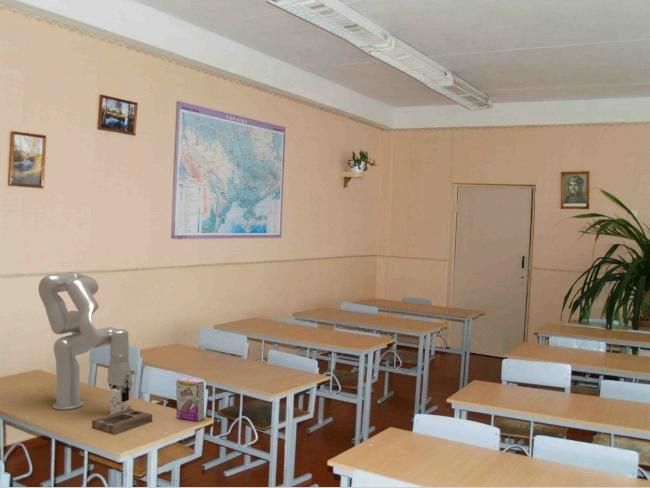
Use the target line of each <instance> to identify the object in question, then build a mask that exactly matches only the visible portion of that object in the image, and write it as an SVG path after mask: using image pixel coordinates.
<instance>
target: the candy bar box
mask: <svg viewBox="0 0 650 488" xmlns="http://www.w3.org/2000/svg"><path fill="white" fill-rule="evenodd" d="M176 419H180V420H187V421H193V422H200V421H202V420H204V419H205V381H204V380H198V379H193V378H186V377H182V378H179V379H177V380H176Z"/></svg>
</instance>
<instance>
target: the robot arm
mask: <svg viewBox="0 0 650 488" xmlns="http://www.w3.org/2000/svg"><path fill="white" fill-rule="evenodd" d="M98 290H99V283H98V282H97V280H96V279H95V278H93V277H92V276H89V275H87V274H86V275H85V274H81V273H78V272H73V271H67V272H60V273H59V272H58V273H51V274H47V275H45V276H44V277H42V278H41V280H40V281H39V283H38V294H39V298H40V299H41V302H42V304H43V306H44V308H45V311H46V316H47V319H48V322H49V326H50V328H51V331H52V332H53V333H54V334H56V335H64V334H68V333H71V334H69V335H66V336H62V337H60V338H58V339H57V340H56V341H55V342H54V344H53V353H54V356H55V365H56V366H55V369H56V395H54V396H53V399H54V400H56V401H55V402H54V403H53V405H52V406H53V409H54V410H59V411H61V410H62V411H68V410H75V409H78V408H80V407H83V405H84V401H83V400H81V397H80V396H81V393H80V392H81V391H80V389H81V386H80V384H81V383H80V363H79V362H78V360H77V358H76V357H77V356H79V355H80V356H81V355H83V354H86V353H88V352H90V351H91V349H92V348H94V349H97V348H101V347H105V346H110V347H109V348H110V349H109V353H110V359H109V362H108V369H107V379H106V381H107V383H108V386H109V390H111V389H113V388H115V387H117V386H119V384H120V387H122V390H123V392H122V402H125V401H128V400H129V391H130V392H131V389H132V387H133V386H134V383H133V382H132V380H131V379H132V376H131V365H130V362H129V361H130V359H129V358H130V355H129V354H130V352H129V351H130V350H129V331H128V330H127V329H124V328H122V329H121V328H116V327H112V326H108V327H103V328H98V329H96V328H95V326H94V323H93V321H92V315H93V314H94V313H96V311H97V310H98V309H99V306H100V305H99V303H98V301H97V300H96V298H95V296H94V295H95V294H97V293H98ZM64 292H66V293H67V294H68V296H69V298H70V299H71V301H72V303H73V304H74V306H75V309H77V310H69V311H68V307H67V306H66V305H67V304H66V302H65V300H64V299H63V298H62V297H61V296H60V295H59V293H64ZM124 386H126V388H125V387H124Z"/></svg>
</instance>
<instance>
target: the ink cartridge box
mask: <svg viewBox="0 0 650 488" xmlns="http://www.w3.org/2000/svg"><path fill="white" fill-rule="evenodd" d="M124 387H125V388H126V386H124ZM122 392H123V390H122V387H120V384H119V386H117V387H115V388H113V389H109V407H110V408H109V409H110V412H109V413H110V414H109V415H111V414H114V413H117V412H121V411H124V410H127V409H131V404H130V403H131V398H130V397H131V393H130V392H131V390H130V391H129V400H128V401H125V402H122Z"/></svg>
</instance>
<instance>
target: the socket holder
mask: <svg viewBox="0 0 650 488" xmlns="http://www.w3.org/2000/svg"><path fill="white" fill-rule="evenodd" d="M151 422H153V413H149V412H146V411H145V412H144V411H141V410H137V409H133V408H130V409H127V410H124V411H121V412H117V413H114V414H111V415H110V414H108V415H105V416H103V417H102V416H101V417H98V418H96V419H92V420H91V428H92V429H94V430H95V429H96V430H97V431H98V430H99V431H102V432H105V433H108V434H109V433H110V434H112V435H118V434H120V433H123V432H126V431H129V430H132V429H134V428H139V427H140V426H142V425H143V426H144V425H146V424H149V423H151Z"/></svg>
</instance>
